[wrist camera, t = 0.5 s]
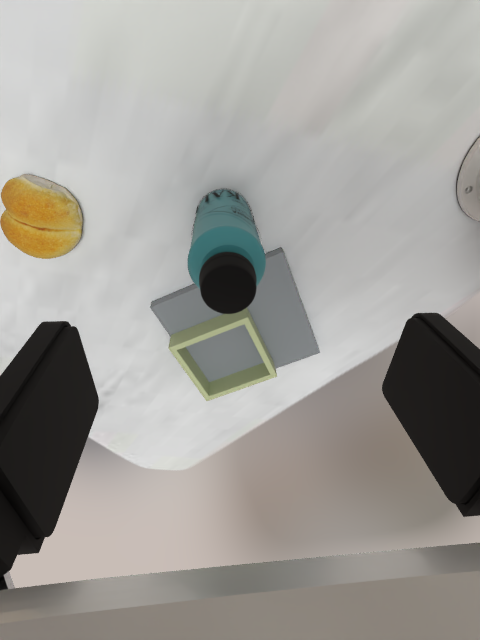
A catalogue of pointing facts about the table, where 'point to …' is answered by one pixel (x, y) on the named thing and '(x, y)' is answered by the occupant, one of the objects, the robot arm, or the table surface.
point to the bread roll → (40, 217)
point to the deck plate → (238, 333)
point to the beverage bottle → (226, 252)
